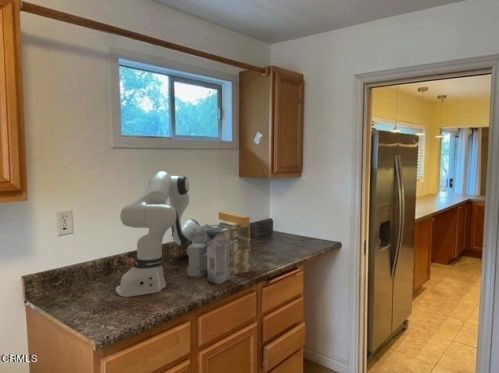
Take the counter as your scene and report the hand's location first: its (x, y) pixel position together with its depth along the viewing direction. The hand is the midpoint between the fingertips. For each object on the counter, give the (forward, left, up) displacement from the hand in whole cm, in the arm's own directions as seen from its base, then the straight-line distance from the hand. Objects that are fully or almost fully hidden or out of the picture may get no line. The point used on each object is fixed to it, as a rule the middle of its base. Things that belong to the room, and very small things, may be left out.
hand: (214, 224), depth 217 cm
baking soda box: (+20, +11, -22) cm, 32 cm away
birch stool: (0, -22, -22) cm, 31 cm away
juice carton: (-16, -31, -22) cm, 41 cm away
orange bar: (0, -20, +4) cm, 20 cm away
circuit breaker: (-17, -17, -22) cm, 32 cm away
